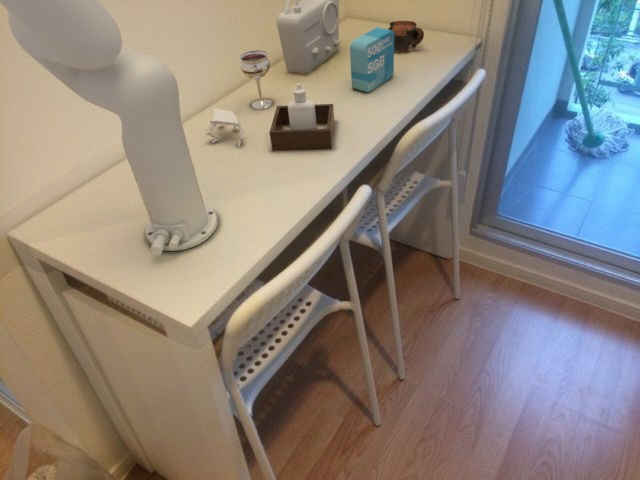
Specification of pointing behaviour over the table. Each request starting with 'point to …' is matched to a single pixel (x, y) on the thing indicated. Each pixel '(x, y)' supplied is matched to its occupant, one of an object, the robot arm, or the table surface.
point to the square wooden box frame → (302, 131)
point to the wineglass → (256, 72)
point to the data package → (372, 59)
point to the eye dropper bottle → (301, 111)
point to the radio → (308, 33)
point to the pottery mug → (405, 35)
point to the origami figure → (224, 122)
